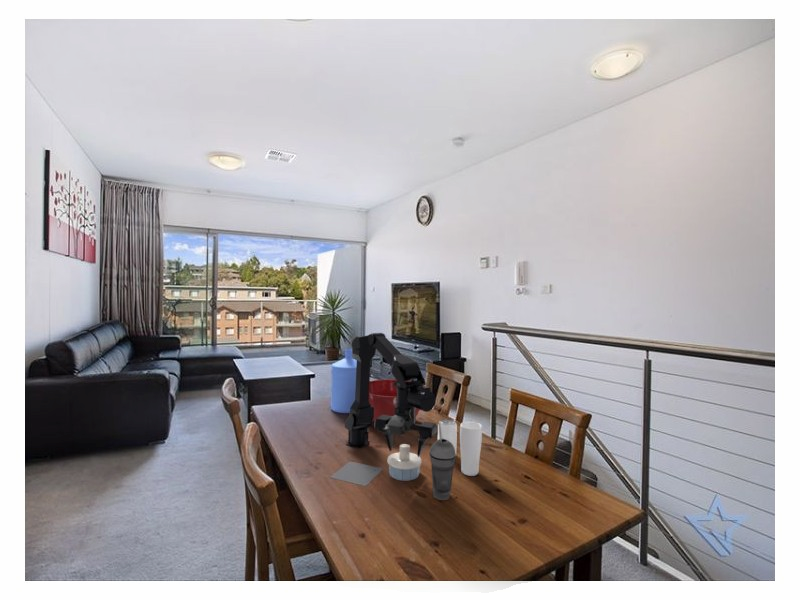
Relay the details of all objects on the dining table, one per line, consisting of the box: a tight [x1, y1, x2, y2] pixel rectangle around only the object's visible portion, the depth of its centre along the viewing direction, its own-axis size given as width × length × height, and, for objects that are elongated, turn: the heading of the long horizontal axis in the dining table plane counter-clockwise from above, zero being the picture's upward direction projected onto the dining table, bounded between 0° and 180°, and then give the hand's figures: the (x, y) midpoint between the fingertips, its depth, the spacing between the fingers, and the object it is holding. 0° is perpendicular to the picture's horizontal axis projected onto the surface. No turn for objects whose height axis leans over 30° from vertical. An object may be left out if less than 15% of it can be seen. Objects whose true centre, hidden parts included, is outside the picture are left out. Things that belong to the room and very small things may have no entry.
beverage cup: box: [429, 422, 457, 501], centre depth 107 cm, size 7×7×20 cm
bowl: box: [388, 464, 421, 482], centre depth 119 cm, size 9×9×4 cm
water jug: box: [330, 348, 357, 414], centre depth 183 cm, size 16×16×28 cm
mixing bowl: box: [369, 378, 425, 422], centre depth 165 cm, size 28×28×15 cm
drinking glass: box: [459, 421, 483, 477], centre depth 121 cm, size 7×7×15 cm
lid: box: [386, 443, 422, 470], centre depth 119 cm, size 10×10×5 cm
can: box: [437, 418, 458, 455], centre depth 133 cm, size 6×6×12 cm
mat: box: [329, 460, 384, 487], centre depth 119 cm, size 12×12×1 cm
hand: (404, 453), depth 119 cm, fingers open, 9 cm apart
